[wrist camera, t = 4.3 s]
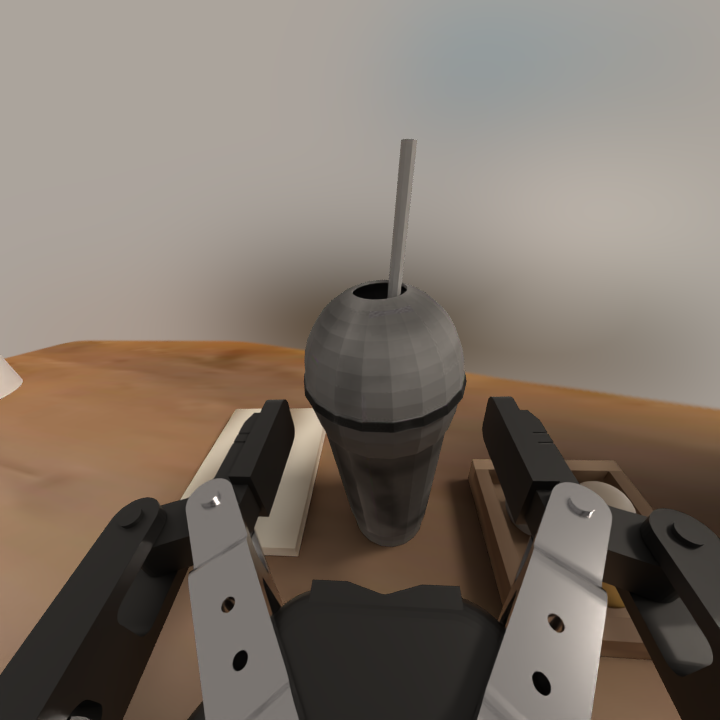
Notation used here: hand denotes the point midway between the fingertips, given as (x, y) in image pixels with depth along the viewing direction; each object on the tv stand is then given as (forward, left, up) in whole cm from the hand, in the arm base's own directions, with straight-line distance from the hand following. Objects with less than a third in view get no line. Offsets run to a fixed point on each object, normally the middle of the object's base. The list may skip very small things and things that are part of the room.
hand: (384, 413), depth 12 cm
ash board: (+10, -5, -11) cm, 16 cm away
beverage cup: (0, -2, -11) cm, 11 cm away
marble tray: (-10, 0, -11) cm, 15 cm away
